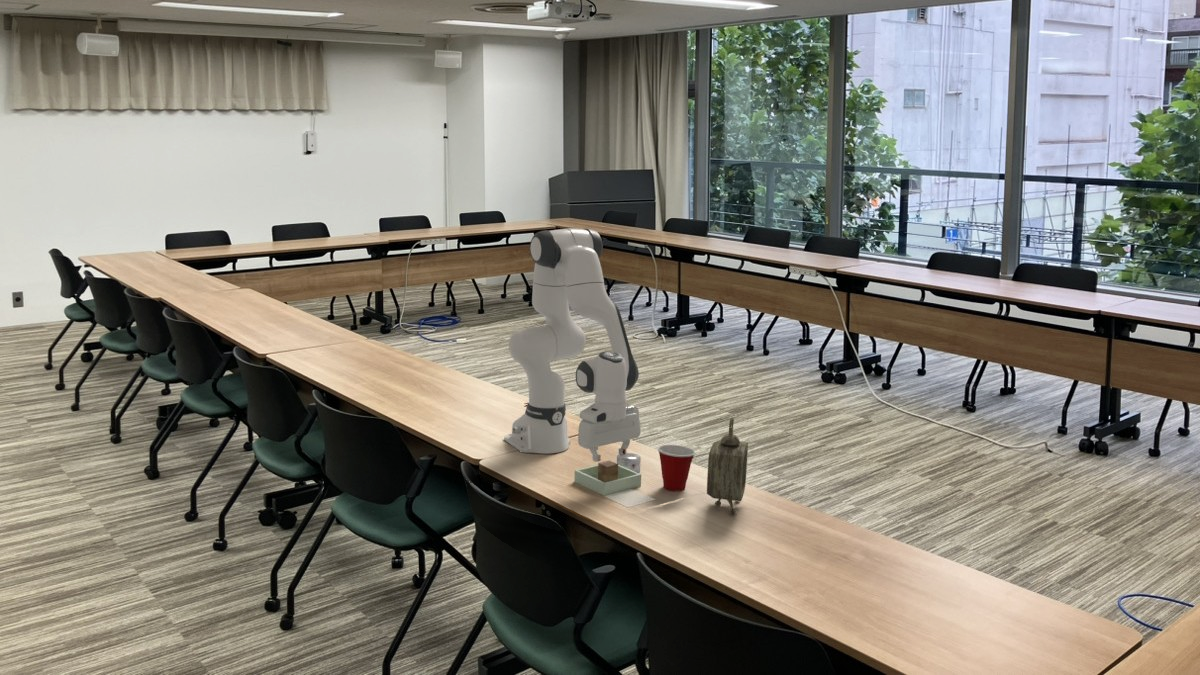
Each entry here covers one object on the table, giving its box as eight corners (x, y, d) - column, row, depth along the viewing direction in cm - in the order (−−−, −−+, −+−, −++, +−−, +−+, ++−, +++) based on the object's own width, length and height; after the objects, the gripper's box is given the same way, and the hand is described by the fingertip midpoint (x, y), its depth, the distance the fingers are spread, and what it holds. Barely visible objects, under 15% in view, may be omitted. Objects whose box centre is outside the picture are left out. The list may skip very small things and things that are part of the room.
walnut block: (597, 483, 291) (598, 463, 290) (608, 480, 293) (609, 460, 292) (606, 487, 288) (607, 466, 287) (617, 484, 290) (618, 464, 289)
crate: (574, 483, 292) (574, 470, 291) (610, 474, 300) (611, 461, 299) (604, 497, 282) (604, 483, 281) (640, 487, 290) (641, 474, 289)
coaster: (604, 498, 281) (604, 496, 281) (631, 490, 287) (631, 488, 287) (627, 509, 274) (627, 507, 273) (655, 501, 280) (655, 499, 280)
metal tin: (611, 472, 302) (611, 455, 301) (629, 467, 307) (630, 451, 306) (626, 478, 297) (627, 462, 296) (644, 474, 302) (645, 457, 300)
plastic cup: (702, 491, 288) (704, 450, 286) (672, 498, 282) (674, 457, 280) (677, 480, 297) (678, 440, 295) (647, 487, 291) (649, 446, 288)
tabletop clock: (739, 518, 269) (744, 427, 264) (704, 514, 271) (709, 424, 266) (744, 499, 283) (750, 412, 278) (712, 496, 285) (716, 409, 280)
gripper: (631, 402, 295) (630, 448, 297) (575, 413, 282) (574, 461, 285) (645, 407, 290) (644, 454, 293) (589, 418, 277) (588, 467, 280)
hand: (609, 457), depth 288 cm, fingers open, 8 cm apart
